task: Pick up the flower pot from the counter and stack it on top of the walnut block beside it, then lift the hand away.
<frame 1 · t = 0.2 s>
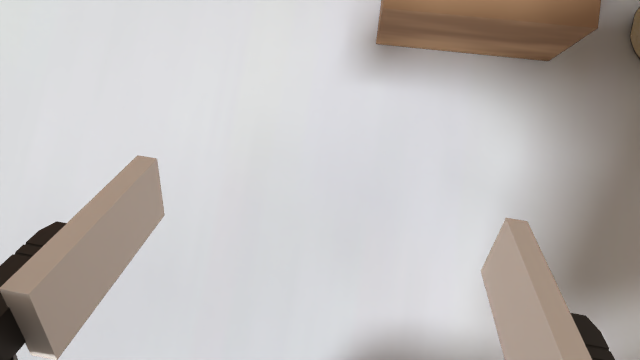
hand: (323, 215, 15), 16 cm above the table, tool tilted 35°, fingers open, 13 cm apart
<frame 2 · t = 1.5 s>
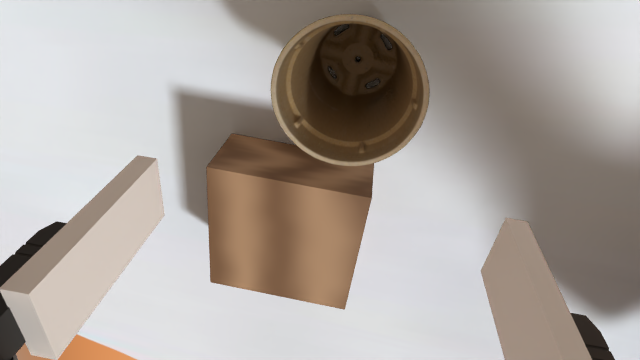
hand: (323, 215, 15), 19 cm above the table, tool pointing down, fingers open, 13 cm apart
flower pot: (357, 57, 31), on the table
walnut block: (295, 204, 40), on the table
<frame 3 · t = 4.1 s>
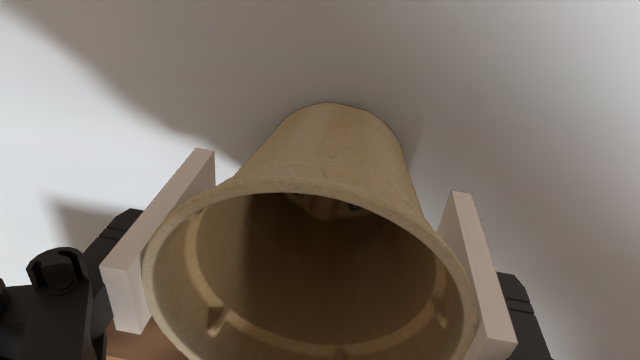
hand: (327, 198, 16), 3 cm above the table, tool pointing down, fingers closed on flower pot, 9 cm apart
flower pot: (334, 163, 19), on the table, touching gripper
walnut block: (253, 346, 27), on the table
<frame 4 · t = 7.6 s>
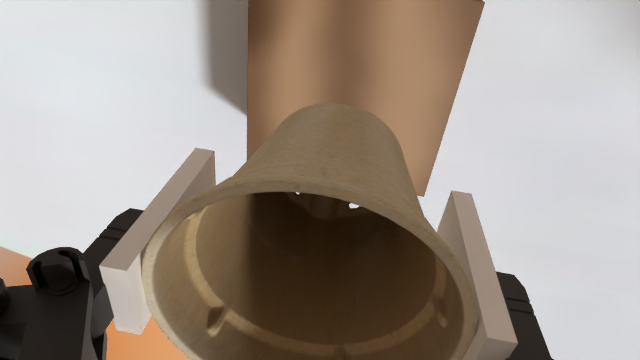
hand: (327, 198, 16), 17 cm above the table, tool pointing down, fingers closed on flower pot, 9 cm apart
flower pot: (334, 163, 19), point 14 cm above the table, touching gripper
walnut block: (353, 68, 31), on the table
when the fingers open (9 cm above the table, at t = 11.2 s): flower pot stays where it is, resting on walnut block.
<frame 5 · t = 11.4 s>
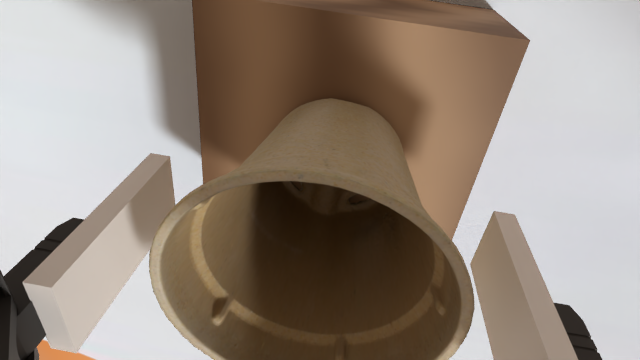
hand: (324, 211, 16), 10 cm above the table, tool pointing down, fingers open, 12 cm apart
flower pot: (335, 158, 19), point 6 cm above the table, touching walnut block
walnut block: (345, 110, 24), on the table
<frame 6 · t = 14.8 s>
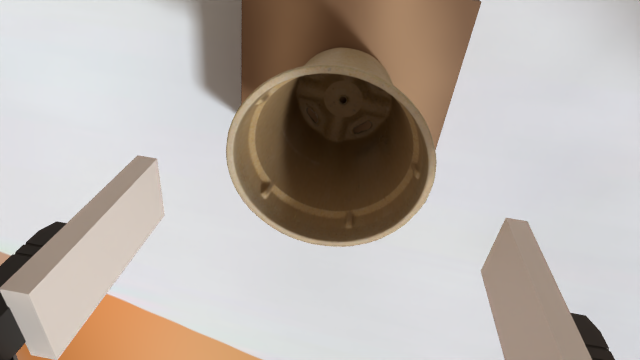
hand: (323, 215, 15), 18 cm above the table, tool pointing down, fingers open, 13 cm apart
flower pot: (343, 96, 25), point 6 cm above the table, touching walnut block
walnut block: (349, 68, 30), on the table
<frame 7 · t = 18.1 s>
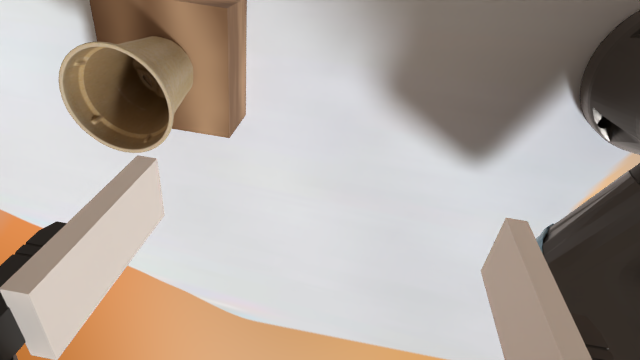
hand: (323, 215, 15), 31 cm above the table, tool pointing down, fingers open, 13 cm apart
flower pot: (165, 68, 40), point 6 cm above the table, touching walnut block
walnut block: (188, 52, 45), on the table
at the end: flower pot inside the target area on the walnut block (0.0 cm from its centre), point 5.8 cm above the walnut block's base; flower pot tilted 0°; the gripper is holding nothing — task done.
